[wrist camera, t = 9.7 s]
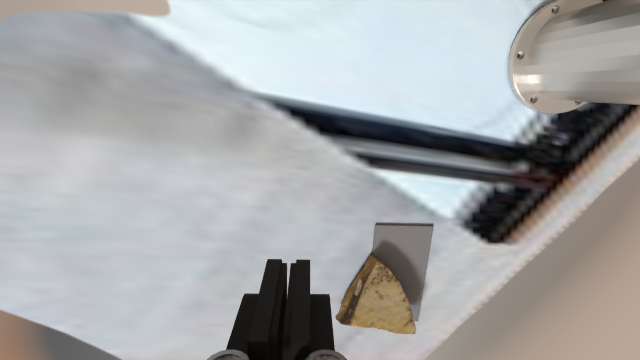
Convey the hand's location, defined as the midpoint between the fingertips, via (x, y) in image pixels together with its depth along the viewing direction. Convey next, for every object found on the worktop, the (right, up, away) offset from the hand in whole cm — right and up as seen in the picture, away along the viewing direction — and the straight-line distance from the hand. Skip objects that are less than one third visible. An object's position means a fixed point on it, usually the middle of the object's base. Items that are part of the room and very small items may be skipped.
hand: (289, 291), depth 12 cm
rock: (+6, -11, +30) cm, 32 cm away
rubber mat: (+12, -9, +32) cm, 35 cm away
